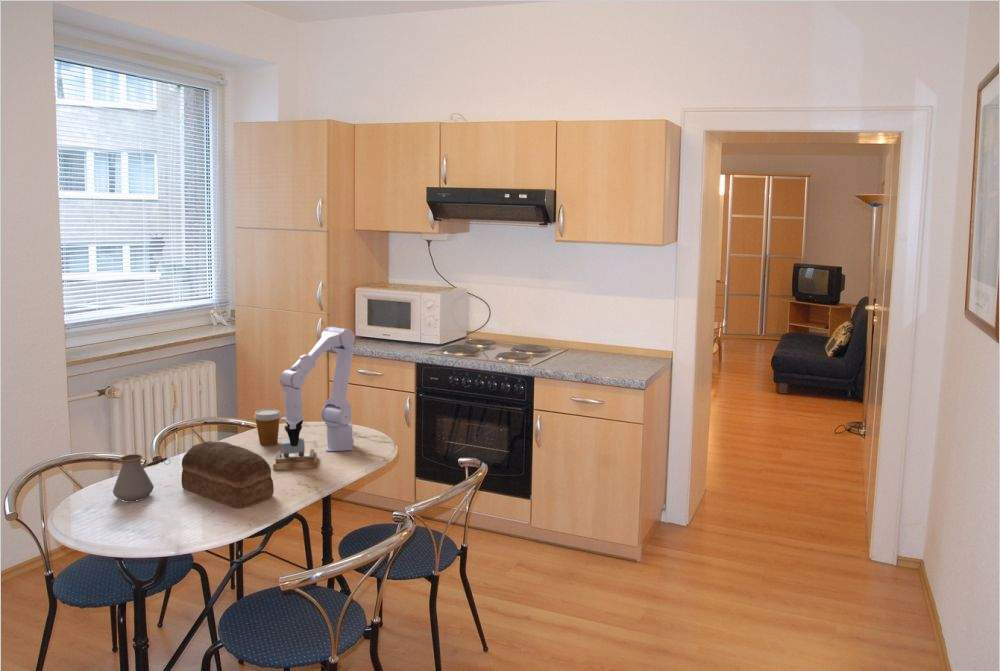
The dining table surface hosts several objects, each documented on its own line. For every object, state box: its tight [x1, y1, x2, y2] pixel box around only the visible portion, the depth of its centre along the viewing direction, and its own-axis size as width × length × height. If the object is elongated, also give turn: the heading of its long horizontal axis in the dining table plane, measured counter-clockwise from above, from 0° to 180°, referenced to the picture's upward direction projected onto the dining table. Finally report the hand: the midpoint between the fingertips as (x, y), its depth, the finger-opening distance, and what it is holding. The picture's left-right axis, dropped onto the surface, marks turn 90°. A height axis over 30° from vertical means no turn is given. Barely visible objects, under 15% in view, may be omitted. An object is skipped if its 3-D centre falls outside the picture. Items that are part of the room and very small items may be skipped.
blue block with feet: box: [281, 437, 306, 458], centre depth 293 cm, size 7×5×5 cm, turn 100°
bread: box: [181, 440, 275, 509], centre depth 265 cm, size 15×32×16 cm, turn 54°
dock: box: [272, 448, 318, 471], centre depth 293 cm, size 14×11×4 cm
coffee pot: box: [112, 453, 171, 502], centre depth 259 cm, size 21×12×15 cm, turn 64°
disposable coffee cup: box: [253, 408, 282, 447], centre depth 315 cm, size 10×10×12 cm
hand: (294, 443), depth 293 cm, fingers closed on blue block with feet, 5 cm apart
